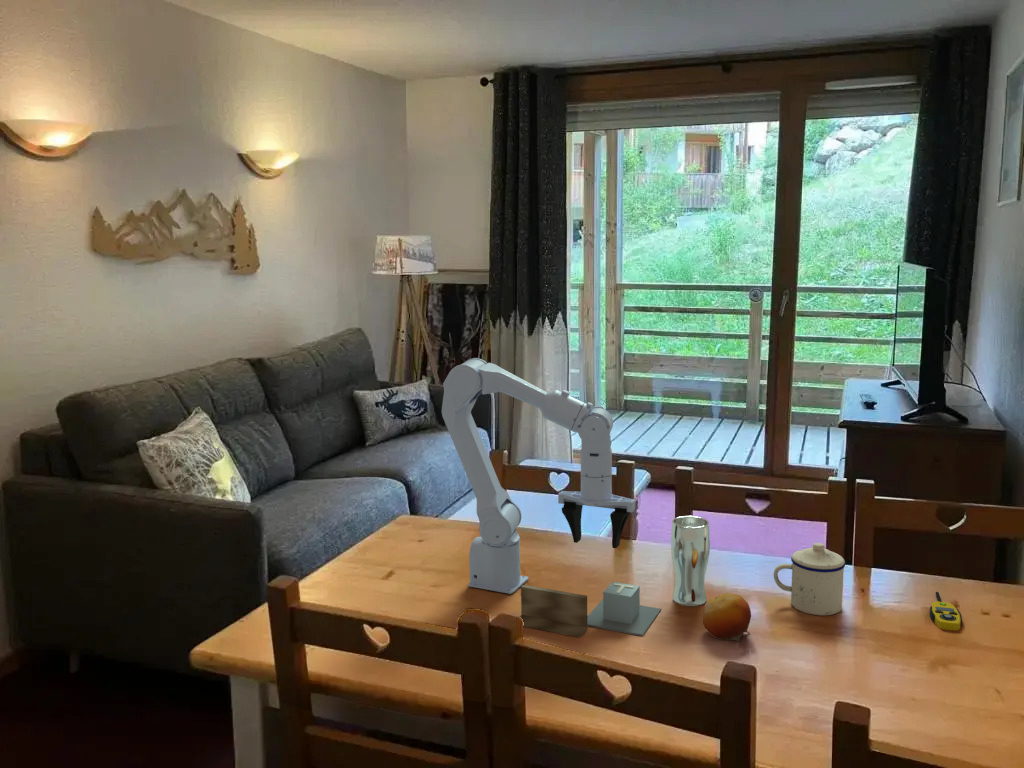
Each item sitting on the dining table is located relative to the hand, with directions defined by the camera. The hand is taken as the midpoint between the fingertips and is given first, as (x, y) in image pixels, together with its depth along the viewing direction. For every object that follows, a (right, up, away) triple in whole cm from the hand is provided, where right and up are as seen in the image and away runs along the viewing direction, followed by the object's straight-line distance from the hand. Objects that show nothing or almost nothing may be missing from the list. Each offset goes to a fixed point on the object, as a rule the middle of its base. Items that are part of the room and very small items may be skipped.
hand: (596, 543), depth 161 cm
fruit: (+20, -12, -17) cm, 29 cm away
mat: (+4, -11, -10) cm, 15 cm away
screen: (-9, -12, -13) cm, 20 cm away
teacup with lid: (+37, -10, -6) cm, 39 cm away
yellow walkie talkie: (+60, -11, -10) cm, 62 cm away
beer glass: (+17, -10, -3) cm, 20 cm away
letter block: (+3, -11, -10) cm, 15 cm away
